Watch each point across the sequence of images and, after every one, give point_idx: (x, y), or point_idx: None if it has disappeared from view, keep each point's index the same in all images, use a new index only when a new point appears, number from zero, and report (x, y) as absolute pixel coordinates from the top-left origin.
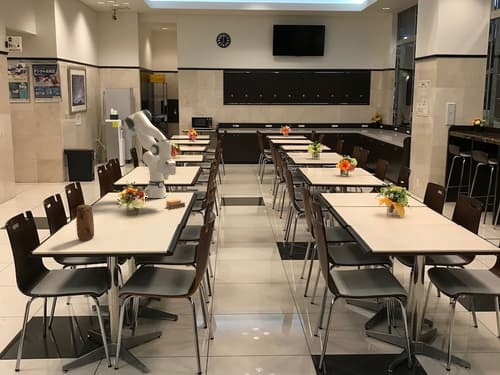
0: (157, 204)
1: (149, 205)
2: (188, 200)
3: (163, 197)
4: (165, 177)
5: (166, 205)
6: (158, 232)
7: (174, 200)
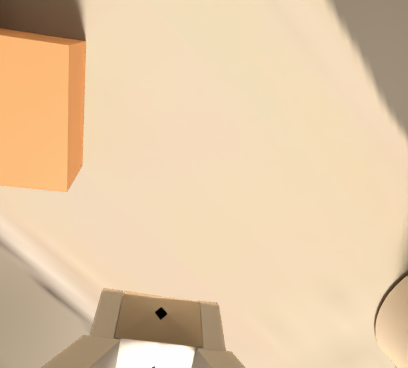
0: (273, 107)
1: (319, 21)
2: None
3: (381, 317)
4: (117, 335)
5: (81, 42)
6: None
7: (17, 133)
